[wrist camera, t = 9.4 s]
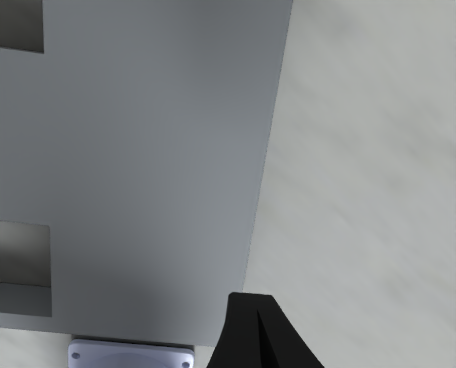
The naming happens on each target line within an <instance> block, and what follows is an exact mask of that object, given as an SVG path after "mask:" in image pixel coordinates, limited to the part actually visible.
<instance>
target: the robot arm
mask: <svg viewBox="0 0 456 368" xmlns="http://www.w3.org/2000/svg"><path fill="white" fill-rule="evenodd" d="M75 352H76V353H78V354H76V353H75ZM194 356H195V355H194V352H193V351H192V350H190V349H184V348H172V347H161V346H150V345H138V344H127V343H116V342H104V341H93V340H82V339H74V340H72V341H71V342H70V344H69V346H68V368H193V365H194ZM184 362H188V363H184ZM206 368H324V366H323V365H322V364H321V363H320V362H319V360H318V359H317V358H316V357H315V355H314V354H313V353H312V352H311V350H310V349H309V348H308V346H307V345H306V344H305V342H304V341H303V340H302V338H301V337H300V336H299V334H298V333H297V331H296V330H295V329H294V327H293V326H292V324H291V323H290V321H289V320H288V319H287V317H286V316H285V314H284V313H283V311H282V310H281V308H280V306H279V305H278V303H277V302H276V300H275V299H274V298H273V296H272V295H263V294H252V293H240V292H232V293H230V294H229V295H228V302H227V309H226V316H225V323H224V326H223V329H222V332H221V335H220V338H219V340H218V343H217V345H216V347H215V350H214V352H213V354H212V357H211V359H210V361H209V363H208V365H207V367H206Z"/></svg>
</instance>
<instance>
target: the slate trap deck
mask: <svg viewBox="0 0 456 368" xmlns="http://www.w3.org/2000/svg"><path fill="white" fill-rule="evenodd" d="M42 2H43V34H44V52H37V51H30V50H23V49H16V48H8V47H1V46H0V221H8V222H17V223H26V224H35V225H44V226H49V228H50V261H51V288H50V287H40V286H30V285H19V284H9V283H0V328H9V329H20V330H31V331H42V332H54V333H65V334H76V335H87V336H98V337H110V338H121V339H132V340H143V341H154V342H166V343H177V344H188V345H199V346H210V347H216V345H217V343H218V340H219V338H220V335H221V332H222V329H223V326H224V323H225V316H226V309H227V302H228V295H229V294H230V293H232V292H240V293H242V290H243V284H244V279H245V273H246V267H247V261H248V256H249V250H250V244H251V238H252V233H253V227H254V221H255V216H256V210H257V204H258V198H259V193H260V187H261V181H262V175H263V170H264V164H265V158H266V152H267V147H268V141H269V135H270V129H271V124H272V118H273V112H274V106H275V101H276V95H277V89H278V84H279V78H280V72H281V66H282V61H283V55H284V49H285V43H286V38H287V32H288V26H289V20H290V15H291V9H292V3H293V0H42Z"/></svg>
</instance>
